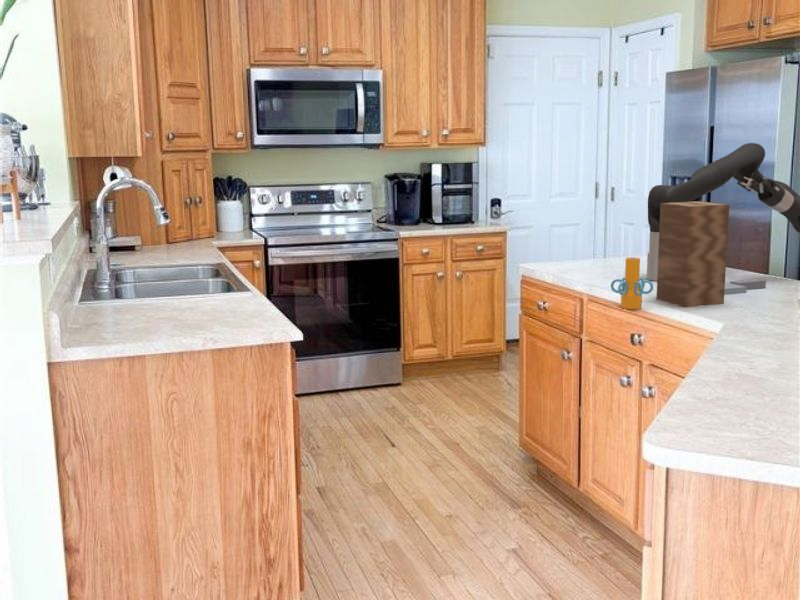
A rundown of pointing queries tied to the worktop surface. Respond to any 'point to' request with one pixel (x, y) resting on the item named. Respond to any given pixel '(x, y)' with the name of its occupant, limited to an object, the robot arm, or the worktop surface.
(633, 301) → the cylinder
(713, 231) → the post
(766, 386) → the worktop surface
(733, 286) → the lid
